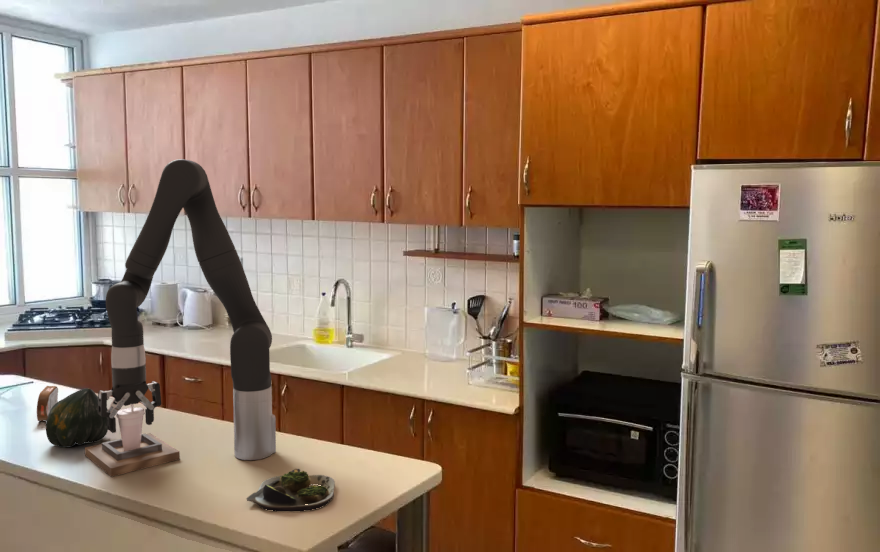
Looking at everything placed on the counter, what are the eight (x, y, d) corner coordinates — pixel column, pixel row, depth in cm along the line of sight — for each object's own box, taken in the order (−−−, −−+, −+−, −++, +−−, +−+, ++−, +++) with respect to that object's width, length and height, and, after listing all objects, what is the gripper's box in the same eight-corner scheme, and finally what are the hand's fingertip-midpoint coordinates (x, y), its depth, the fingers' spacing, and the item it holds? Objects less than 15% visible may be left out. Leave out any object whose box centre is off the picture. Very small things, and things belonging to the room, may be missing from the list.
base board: (150, 440, 182) (149, 427, 181) (179, 459, 169) (179, 445, 168) (85, 455, 170) (84, 441, 170) (111, 476, 158) (110, 462, 157)
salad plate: (262, 476, 160) (261, 457, 159) (339, 475, 161) (339, 456, 160) (242, 514, 141) (242, 492, 140) (330, 513, 142) (330, 491, 141)
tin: (48, 409, 207) (47, 382, 206) (60, 409, 208) (59, 381, 207) (35, 425, 192) (34, 396, 192) (48, 424, 193) (47, 395, 193)
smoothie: (135, 455, 166) (133, 398, 164) (111, 452, 167) (109, 396, 165) (151, 445, 172) (149, 391, 170) (128, 443, 173) (126, 389, 172)
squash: (24, 426, 175) (53, 386, 171) (72, 411, 189) (101, 374, 185) (56, 468, 172) (87, 428, 168) (103, 450, 187) (133, 413, 183)
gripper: (152, 356, 175) (154, 418, 176) (92, 365, 165) (94, 430, 167) (164, 361, 169) (166, 425, 171) (103, 370, 159) (105, 438, 161)
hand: (131, 428), depth 169 cm, fingers open, 8 cm apart
